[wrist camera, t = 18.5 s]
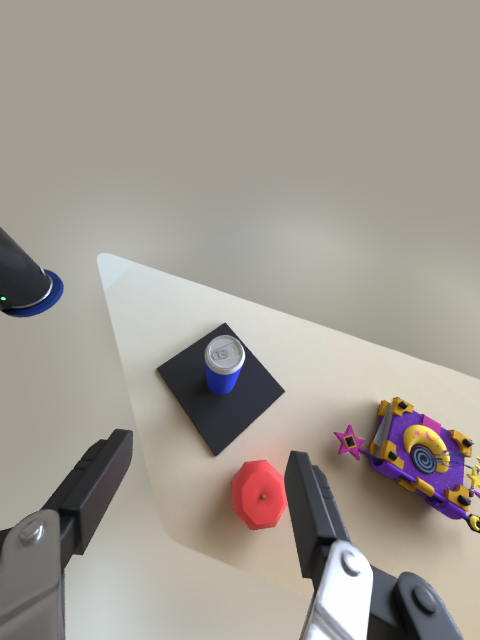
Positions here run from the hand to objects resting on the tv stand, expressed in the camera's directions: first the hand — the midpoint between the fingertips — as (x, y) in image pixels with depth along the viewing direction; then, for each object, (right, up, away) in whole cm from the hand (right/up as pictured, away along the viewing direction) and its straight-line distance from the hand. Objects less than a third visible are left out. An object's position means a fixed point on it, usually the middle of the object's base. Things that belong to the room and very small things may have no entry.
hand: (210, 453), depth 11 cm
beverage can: (-2, -5, +30) cm, 30 cm away
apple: (+4, -19, +23) cm, 30 cm away
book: (+30, -16, +28) cm, 44 cm away
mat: (-2, -5, +30) cm, 31 cm away
